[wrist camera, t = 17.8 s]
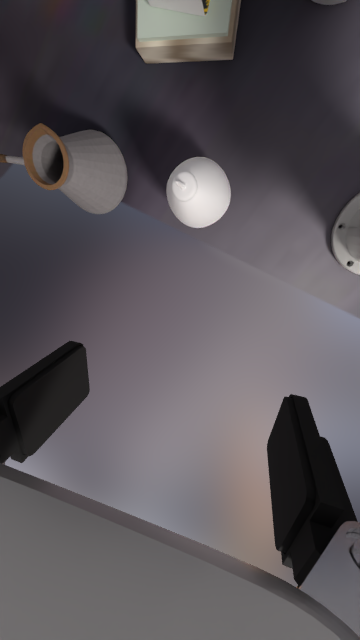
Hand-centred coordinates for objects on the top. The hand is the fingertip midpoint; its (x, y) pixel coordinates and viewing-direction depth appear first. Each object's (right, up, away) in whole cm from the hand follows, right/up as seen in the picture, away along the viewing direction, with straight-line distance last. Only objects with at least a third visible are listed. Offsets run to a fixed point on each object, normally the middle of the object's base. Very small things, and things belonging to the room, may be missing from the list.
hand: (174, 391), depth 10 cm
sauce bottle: (+5, +22, +26) cm, 34 cm away
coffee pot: (-17, +29, +30) cm, 45 cm away
